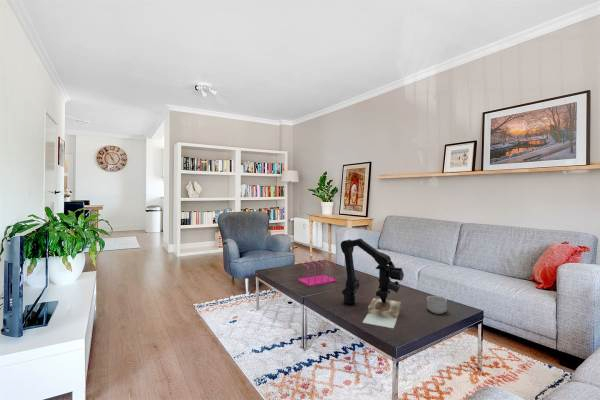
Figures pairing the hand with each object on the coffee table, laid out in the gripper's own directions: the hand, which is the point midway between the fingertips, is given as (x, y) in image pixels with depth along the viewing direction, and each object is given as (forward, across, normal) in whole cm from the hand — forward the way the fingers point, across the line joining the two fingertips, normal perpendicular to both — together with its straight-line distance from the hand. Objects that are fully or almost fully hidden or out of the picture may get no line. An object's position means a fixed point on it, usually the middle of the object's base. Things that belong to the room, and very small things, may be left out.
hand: (384, 304), depth 176 cm
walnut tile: (+1, -4, 0) cm, 4 cm away
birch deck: (+5, +2, 0) cm, 5 cm away
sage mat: (+5, -12, 0) cm, 13 cm away
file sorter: (+5, +40, +58) cm, 70 cm away
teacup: (+5, +15, -28) cm, 32 cm away
